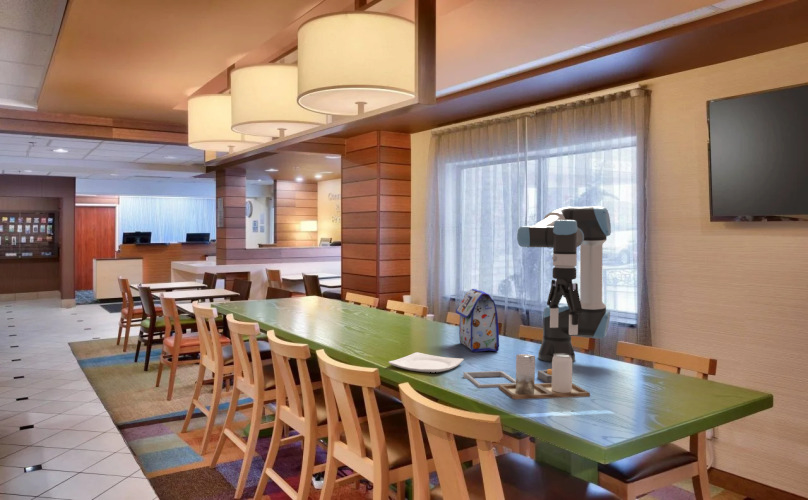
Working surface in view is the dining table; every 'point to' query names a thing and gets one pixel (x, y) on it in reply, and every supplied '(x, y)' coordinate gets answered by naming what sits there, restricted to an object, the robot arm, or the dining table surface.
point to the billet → (525, 374)
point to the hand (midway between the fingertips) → (563, 331)
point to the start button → (549, 371)
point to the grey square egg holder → (545, 376)
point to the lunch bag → (478, 322)
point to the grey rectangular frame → (488, 374)
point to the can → (562, 373)
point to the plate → (426, 363)
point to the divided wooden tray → (543, 391)
